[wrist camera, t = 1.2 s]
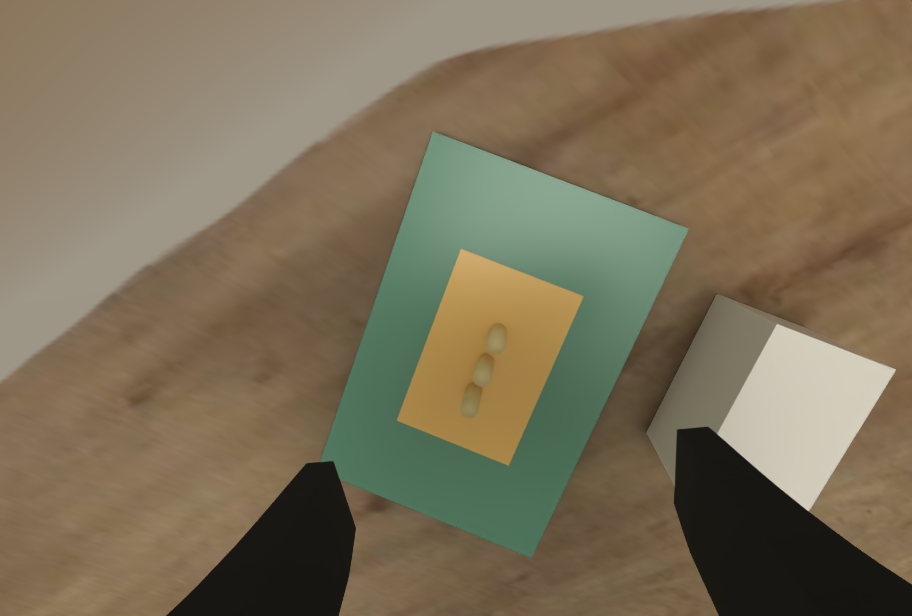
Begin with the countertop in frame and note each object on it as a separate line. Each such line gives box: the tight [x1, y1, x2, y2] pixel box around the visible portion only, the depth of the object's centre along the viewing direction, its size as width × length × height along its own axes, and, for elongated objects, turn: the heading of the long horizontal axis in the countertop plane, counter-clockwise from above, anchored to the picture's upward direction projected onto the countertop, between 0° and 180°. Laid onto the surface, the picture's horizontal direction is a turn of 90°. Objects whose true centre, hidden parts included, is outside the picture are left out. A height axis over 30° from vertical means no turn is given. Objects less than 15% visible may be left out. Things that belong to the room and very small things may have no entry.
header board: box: [320, 132, 689, 558], centre depth 25 cm, size 12×18×4 cm, turn 159°
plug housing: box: [646, 294, 896, 511], centre depth 23 cm, size 4×8×6 cm, turn 159°
